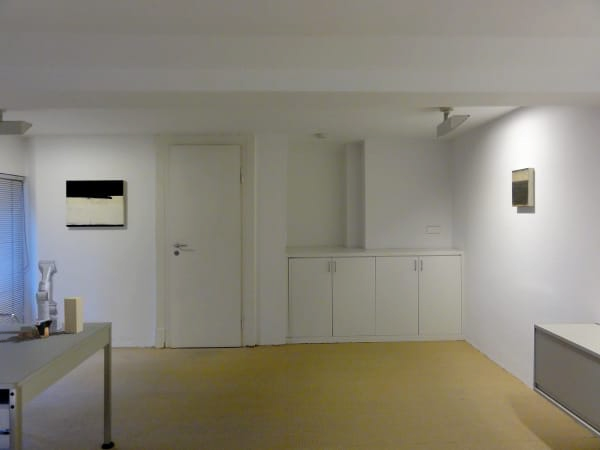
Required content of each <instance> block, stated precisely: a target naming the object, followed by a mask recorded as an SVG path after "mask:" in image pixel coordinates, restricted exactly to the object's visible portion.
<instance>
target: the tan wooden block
mask: <svg viewBox="0 0 600 450" xmlns="http://www.w3.org/2000/svg"><path fill="white" fill-rule="evenodd" d="M63 303H64V304H63V305H64V306H63V307H64V308H63V309H64V311H63V312H64V333H65V334H78V333H80V332H83V331H84V315H83V313H84V312H83V310H84V309H83V297H82V296H69V297H66V298H64V301H63Z"/></svg>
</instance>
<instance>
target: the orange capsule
mask: <svg viewBox="0 0 600 450" xmlns="http://www.w3.org/2000/svg"><path fill="white" fill-rule="evenodd" d="M49 332H50V331H48V327H45V334H44V336H40V335H39V338H40V339H42V338H43V339H44V338H45V339H46V338H48V337H49V334H50V333H49Z"/></svg>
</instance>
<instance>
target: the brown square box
mask: <svg viewBox="0 0 600 450" xmlns="http://www.w3.org/2000/svg"><path fill="white" fill-rule="evenodd" d="M38 335H39V336H40V334H39V331H38V329H37V330H35V331H33V332H23V333H21V331H20V332H18V335H17V336H18V339H32V338H35V337H37V336H38Z"/></svg>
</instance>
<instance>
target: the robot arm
mask: <svg viewBox="0 0 600 450" xmlns="http://www.w3.org/2000/svg"><path fill="white" fill-rule="evenodd" d="M37 264H38V266H37V267H38V270H39V272H40V274H41V280H40V281H39V282H38V289H37V292H36V293H35V300H36V301H35V302H36V304H37V318H36V319H35V323H34V324H35V326H36V327H37V329H38V331H39V337H40V336H44V334H45V327H48V331H49V332H52V331H53V332H54V331H58V330H60V329H63V326H62V323H63V322H62V316H61V315H59V313H60V303H59V302H58V301H57V300H55V299H54V298H55V297H54V295H55V293H54V292H55V291H54V290H55V289H54V284H55V283H54V282H55V281H54V280H55V278H54V277H55V274H57V273H58V268H59V267H58V260H57V259H46V260H39V261H38V263H37Z"/></svg>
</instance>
